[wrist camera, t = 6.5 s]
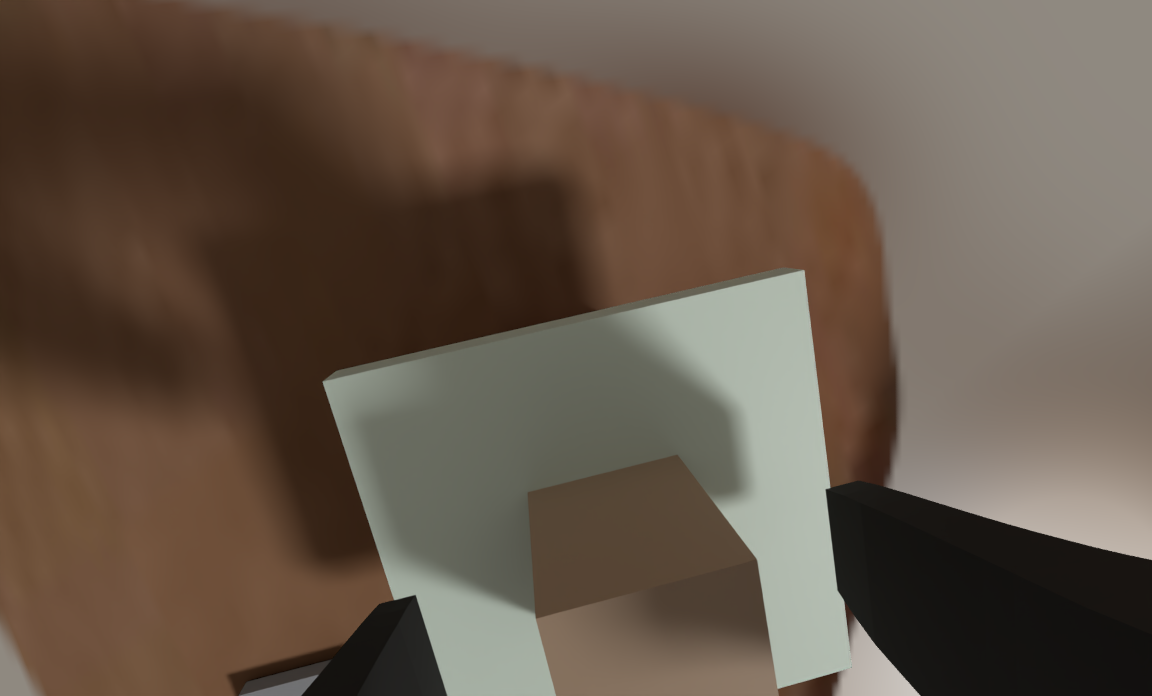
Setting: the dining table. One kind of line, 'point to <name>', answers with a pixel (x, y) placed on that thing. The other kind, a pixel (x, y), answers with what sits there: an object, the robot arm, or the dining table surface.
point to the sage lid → (610, 497)
